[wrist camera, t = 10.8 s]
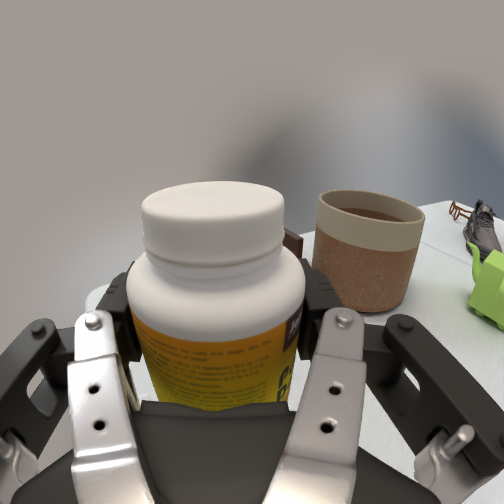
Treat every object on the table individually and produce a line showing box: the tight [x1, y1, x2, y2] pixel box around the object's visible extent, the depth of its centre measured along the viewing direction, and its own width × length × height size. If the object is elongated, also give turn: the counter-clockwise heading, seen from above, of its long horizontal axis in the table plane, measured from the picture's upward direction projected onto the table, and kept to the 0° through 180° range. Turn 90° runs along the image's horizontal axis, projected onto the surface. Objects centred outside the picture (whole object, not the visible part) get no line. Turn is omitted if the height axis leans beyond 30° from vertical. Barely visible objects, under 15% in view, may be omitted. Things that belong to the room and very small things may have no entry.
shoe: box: [463, 199, 502, 259], centre depth 57 cm, size 10×27×12 cm, turn 149°
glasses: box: [449, 201, 472, 220], centre depth 79 cm, size 13×13×5 cm
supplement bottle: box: [126, 181, 305, 411], centre depth 10 cm, size 6×6×10 cm
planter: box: [311, 189, 425, 312], centre depth 41 cm, size 16×16×14 cm
